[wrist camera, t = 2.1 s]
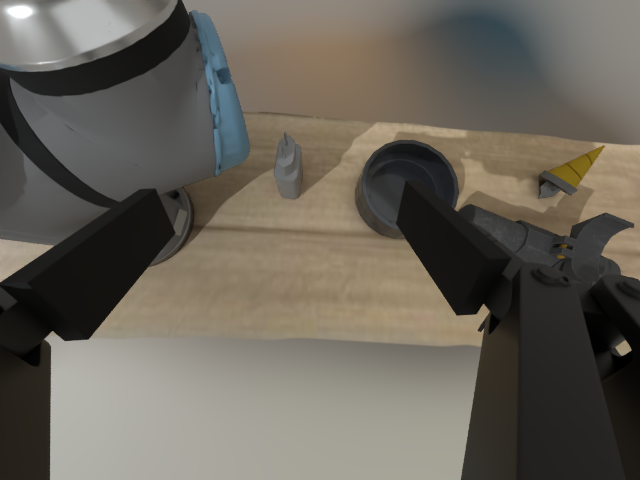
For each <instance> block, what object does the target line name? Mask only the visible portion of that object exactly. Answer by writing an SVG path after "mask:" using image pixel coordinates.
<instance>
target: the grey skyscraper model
mask: <svg viewBox="0 0 640 480" xmlns="http://www.w3.org/2000/svg"><path fill="white" fill-rule="evenodd" d="M284 136H285V137H284V138H282V139H281V140H280V141H279V145H278V151H277V157H276V164H275V170H274V176H275V179H276V182H277V185H278V188H279V191H280V194H281V196H282V197H284V198H289V199H297V198H298V197H299V195H300V188H301V182H302V175H303V170H302V154H301V147H300V146H299V145H298V144H295V141H294V140H293V139H292V138H291V137H290V136H287V135H286V132H284Z"/></svg>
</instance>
